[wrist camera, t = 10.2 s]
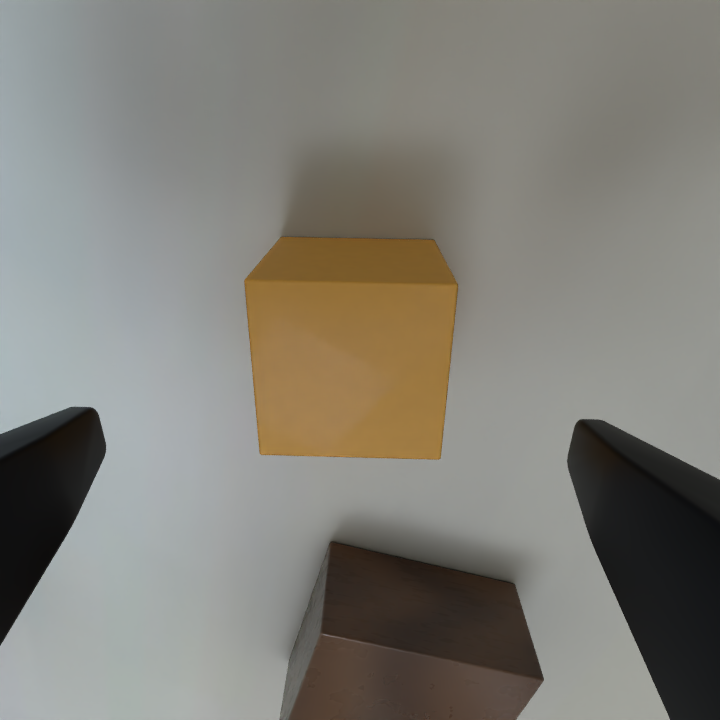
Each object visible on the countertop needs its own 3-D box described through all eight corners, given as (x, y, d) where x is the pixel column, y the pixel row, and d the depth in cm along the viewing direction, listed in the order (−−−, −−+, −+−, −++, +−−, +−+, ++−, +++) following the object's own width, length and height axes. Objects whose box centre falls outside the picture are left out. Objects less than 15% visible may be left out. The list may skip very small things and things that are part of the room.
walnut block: (515, 583, 21) (545, 680, 17) (449, 695, 24) (462, 796, 20) (329, 541, 20) (320, 632, 16) (288, 662, 23) (272, 761, 20)
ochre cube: (434, 239, 15) (459, 283, 10) (424, 377, 17) (440, 460, 12) (280, 236, 15) (243, 279, 11) (287, 373, 17) (259, 455, 13)
